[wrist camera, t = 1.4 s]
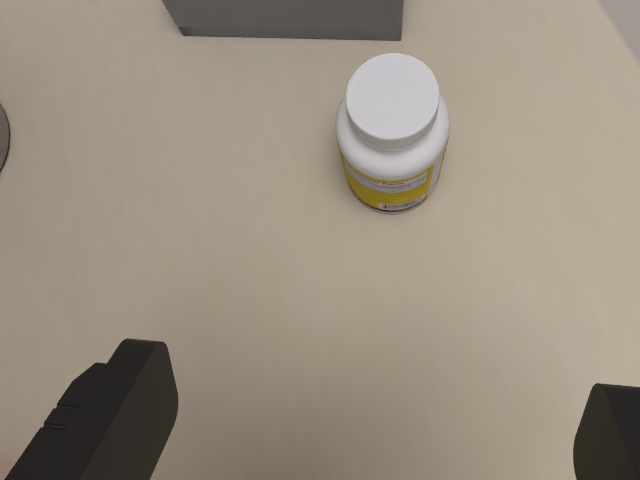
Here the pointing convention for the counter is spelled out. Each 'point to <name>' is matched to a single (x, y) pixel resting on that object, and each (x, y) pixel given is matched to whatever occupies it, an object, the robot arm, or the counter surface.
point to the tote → (289, 18)
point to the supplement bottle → (392, 132)
